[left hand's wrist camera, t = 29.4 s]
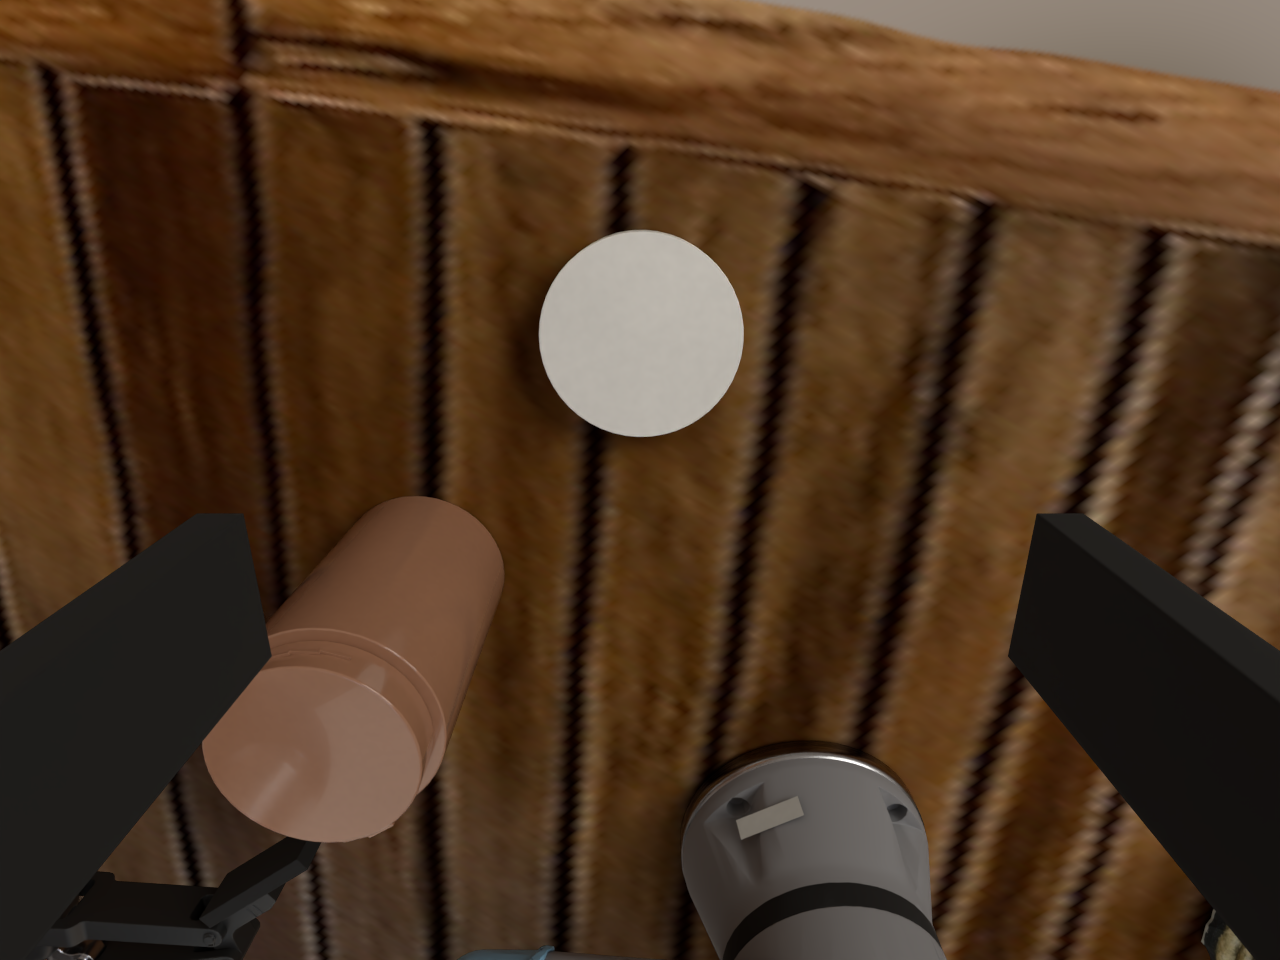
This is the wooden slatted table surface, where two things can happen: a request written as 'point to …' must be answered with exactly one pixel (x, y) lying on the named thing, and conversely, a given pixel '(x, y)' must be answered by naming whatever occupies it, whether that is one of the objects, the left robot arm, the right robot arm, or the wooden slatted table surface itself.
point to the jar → (362, 675)
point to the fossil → (1223, 941)
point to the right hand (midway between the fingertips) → (215, 748)
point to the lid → (641, 333)
